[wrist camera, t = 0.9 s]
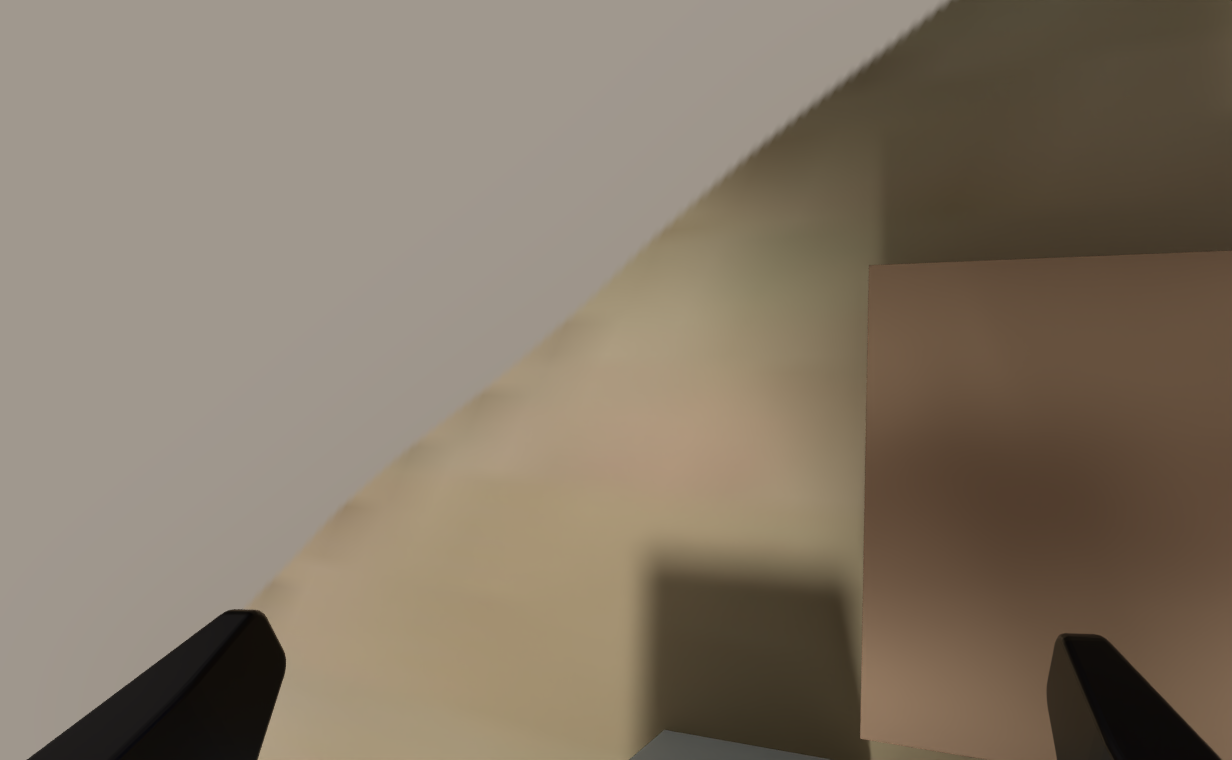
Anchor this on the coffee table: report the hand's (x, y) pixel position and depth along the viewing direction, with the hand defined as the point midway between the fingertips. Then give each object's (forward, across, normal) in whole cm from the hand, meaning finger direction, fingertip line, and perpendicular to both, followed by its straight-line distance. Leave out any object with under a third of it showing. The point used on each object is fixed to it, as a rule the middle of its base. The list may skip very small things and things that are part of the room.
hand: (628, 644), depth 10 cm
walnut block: (+9, -8, +6) cm, 14 cm away
